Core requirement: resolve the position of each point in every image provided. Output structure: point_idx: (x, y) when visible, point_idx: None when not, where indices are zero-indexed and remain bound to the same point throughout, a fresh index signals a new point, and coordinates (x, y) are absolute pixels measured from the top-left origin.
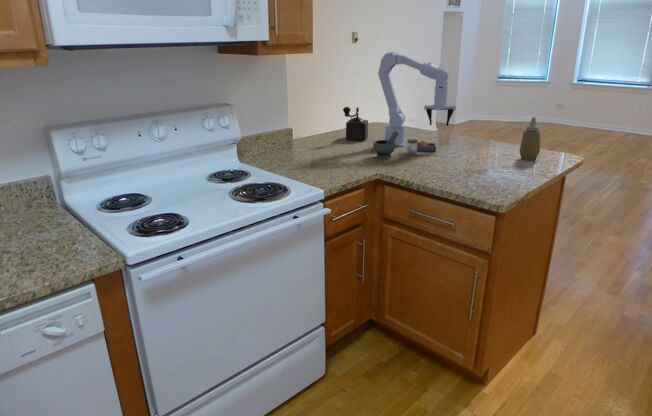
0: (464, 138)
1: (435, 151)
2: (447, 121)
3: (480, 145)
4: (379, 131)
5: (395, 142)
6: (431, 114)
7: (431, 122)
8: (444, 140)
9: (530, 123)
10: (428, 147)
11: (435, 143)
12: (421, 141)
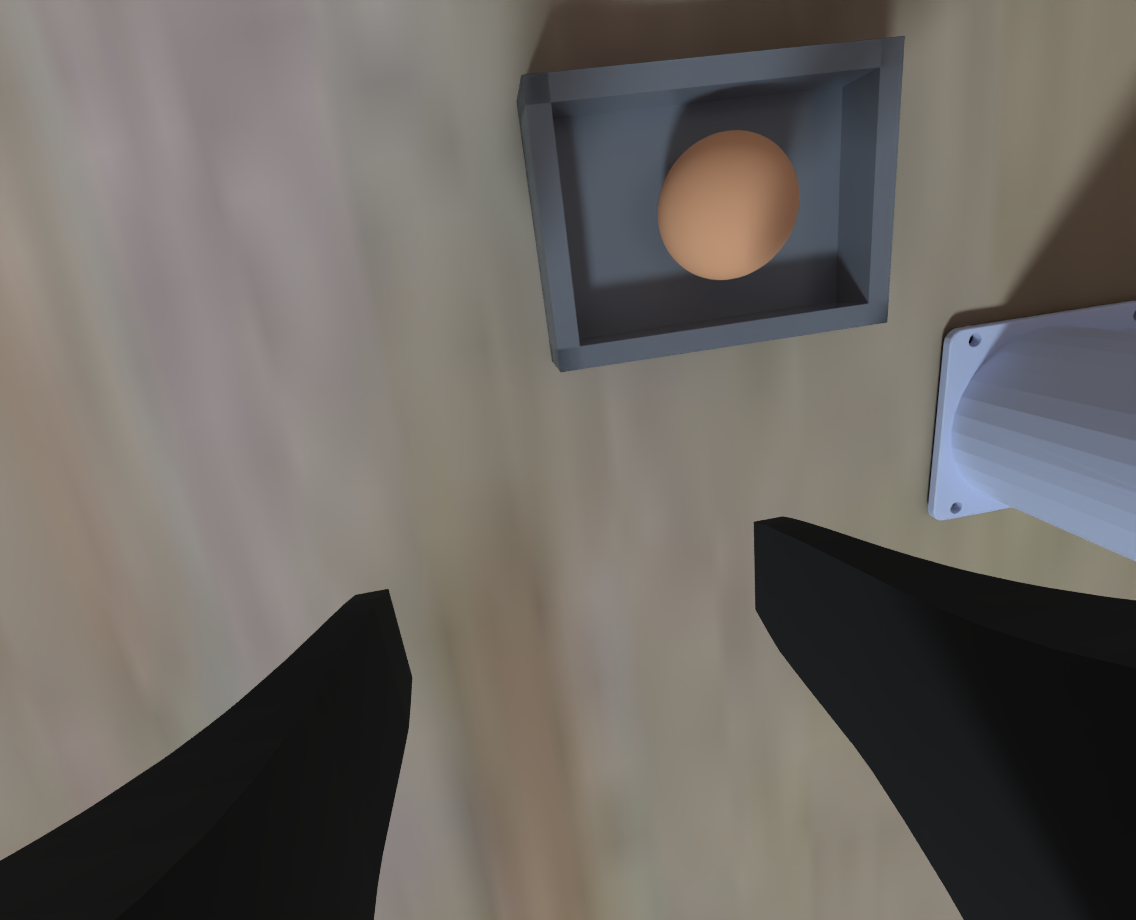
0: None
1: (518, 99)
2: (334, 640)
3: (5, 664)
4: None
5: (1087, 328)
6: (1033, 642)
7: (796, 541)
8: (505, 764)
9: None
10: (638, 70)
11: (561, 337)
12: (790, 169)
